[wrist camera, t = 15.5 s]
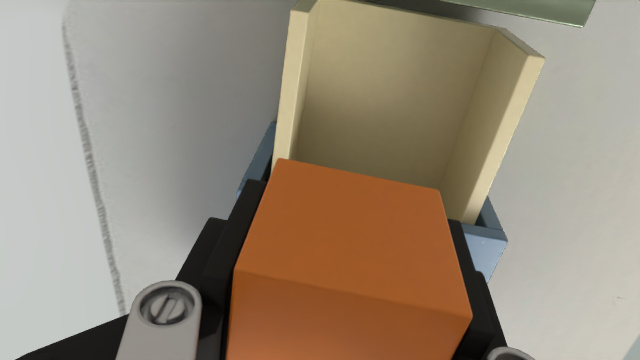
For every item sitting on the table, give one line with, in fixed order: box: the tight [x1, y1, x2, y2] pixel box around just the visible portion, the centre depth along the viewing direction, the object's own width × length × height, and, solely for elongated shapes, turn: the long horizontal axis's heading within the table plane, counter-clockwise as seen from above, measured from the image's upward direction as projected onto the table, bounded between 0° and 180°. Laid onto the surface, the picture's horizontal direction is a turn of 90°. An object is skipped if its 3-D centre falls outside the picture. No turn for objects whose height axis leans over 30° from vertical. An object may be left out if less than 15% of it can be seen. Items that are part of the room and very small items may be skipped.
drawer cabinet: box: [237, 122, 508, 283], centre depth 29 cm, size 16×14×9 cm
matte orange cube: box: [225, 158, 473, 360], centre depth 11 cm, size 4×4×4 cm
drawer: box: [270, 0, 596, 225], centre depth 22 cm, size 20×13×7 cm, turn 171°
